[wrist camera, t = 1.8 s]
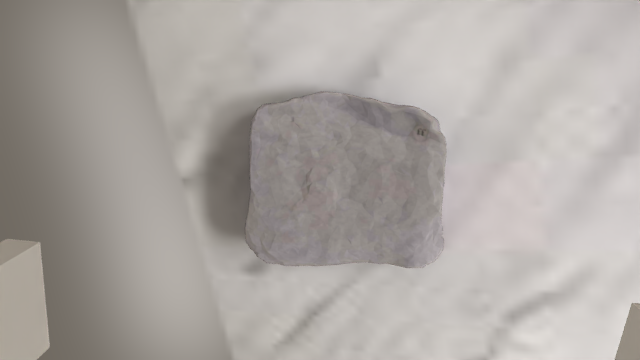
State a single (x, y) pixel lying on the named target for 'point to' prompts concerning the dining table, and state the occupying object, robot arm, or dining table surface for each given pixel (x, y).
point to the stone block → (345, 182)
